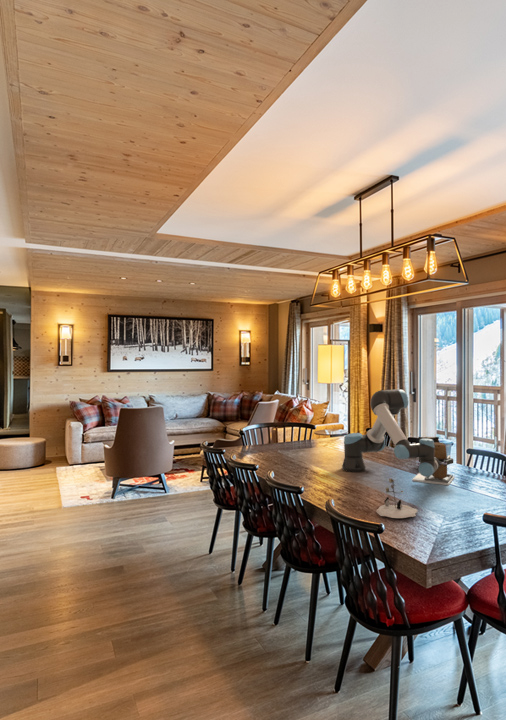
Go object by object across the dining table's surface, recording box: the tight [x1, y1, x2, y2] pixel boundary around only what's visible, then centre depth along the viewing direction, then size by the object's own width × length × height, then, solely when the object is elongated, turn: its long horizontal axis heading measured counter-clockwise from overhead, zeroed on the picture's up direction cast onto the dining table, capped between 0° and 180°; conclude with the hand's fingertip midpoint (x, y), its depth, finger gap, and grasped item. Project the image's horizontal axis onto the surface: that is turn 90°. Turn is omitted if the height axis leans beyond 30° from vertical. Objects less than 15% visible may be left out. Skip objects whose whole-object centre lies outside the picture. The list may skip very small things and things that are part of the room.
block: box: [432, 441, 448, 478], centre depth 262 cm, size 11×8×20 cm
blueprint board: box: [411, 472, 455, 486], centre depth 263 cm, size 20×18×2 cm
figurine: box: [376, 478, 418, 519], centre depth 208 cm, size 20×18×16 cm
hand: (439, 456), depth 265 cm, fingers closed on block, 10 cm apart
